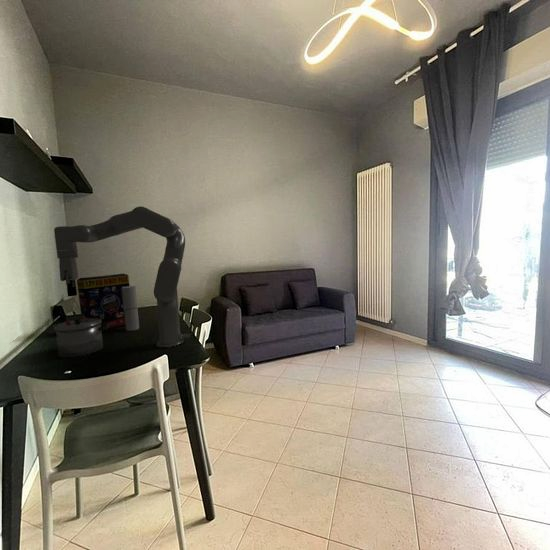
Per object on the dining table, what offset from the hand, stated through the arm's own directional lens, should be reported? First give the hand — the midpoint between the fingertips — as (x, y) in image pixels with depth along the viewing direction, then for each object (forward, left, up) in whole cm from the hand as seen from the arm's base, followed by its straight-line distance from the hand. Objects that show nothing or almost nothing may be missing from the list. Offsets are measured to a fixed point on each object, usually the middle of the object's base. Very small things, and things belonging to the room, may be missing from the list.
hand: (72, 295), depth 137 cm
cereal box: (-6, -48, -28) cm, 56 cm away
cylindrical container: (-20, -36, -28) cm, 49 cm away
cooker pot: (0, -6, -27) cm, 28 cm away
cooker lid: (0, -6, -15) cm, 16 cm away
